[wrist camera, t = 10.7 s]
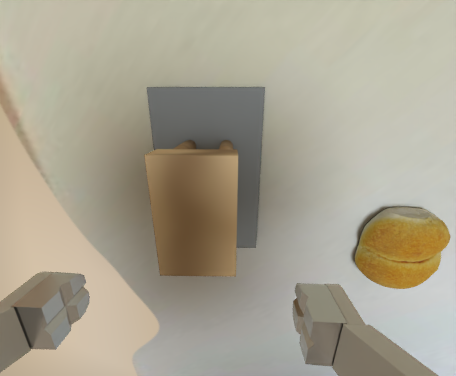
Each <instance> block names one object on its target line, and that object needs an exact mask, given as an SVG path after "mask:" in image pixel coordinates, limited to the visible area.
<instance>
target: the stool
mask: <svg viewBox="0 0 456 376" xmlns="http://www.w3.org/2000/svg"><path fill="white" fill-rule="evenodd" d="M144 157H145V164H146V172H147V179H148V187H149V195H150V202H151V210H152V217H153V225H154V232H155V240H156V248H157V255H158V263H159V270H160V275H165V276H236V243H237V193H238V151H237V149H233V144H232V142H231V141H229V140H224V141H222V142H221V144H220V147H219V149H196V144H195V142H194V141H193V140H186V141H185V142H183V143H182V144H180V145H178V146H177V147H175V148H173V149H156V150H154V151H152V152H150V153H148V154H146V155H144Z"/></svg>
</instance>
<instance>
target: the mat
mask: <svg viewBox="0 0 456 376" xmlns="http://www.w3.org/2000/svg"><path fill="white" fill-rule="evenodd" d="M147 94H148V102H149V111H150V120H151V128H152V137H153V145H154V150H156V149H173V148H175V147H177V146H178V145H180V144H182V143H183V142H185V141H186V140H193V141H194V142H195V144H196V149H219V147H220V144H221V142H222V141H224V140H229V141H231V142H232V144H233V149H237V151H238V193H237V243H236V248H256V238H257V220H258V202H259V184H260V166H261V148H262V130H263V112H264V94H265V87H147Z"/></svg>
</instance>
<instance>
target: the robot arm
mask: <svg viewBox="0 0 456 376" xmlns="http://www.w3.org/2000/svg"><path fill="white" fill-rule="evenodd" d="M85 283H86V280H85V277H84V275H81V274H75V273H61V272H40V273H38V274H36V275H35V276H33V277H32V278H31V279H29V280H28V281H27V282H25V283H24V284H23V285H22V286H21V287H19V288H18V289H17V290H15V291H14V292H12V293H11V294H10V295H8V296H7V297H6V298H4V299H3V300H2V301H1V302H0V372H1V371H3V370H5V369H6V368H7V367H9V366H10V365H11V364H12V363H14V362H15V361H17V360H18V359H20V358H21V357H22V356H24V355H25V354H26V353H28V352H29V351H30V350H31V349H57V347H58V346H59V345H60V344H61V342H62V341H63V340H64V339H65V337H66V336H67V335H68V333H69V332H70V331H71V324H73V323H74V322H76V321H78V320H79V319H80V318H81V317H82V316H83V314H84V313H85V312H86V309H87V307H88V304H89V298H90V296H89V292H88V291H87V290H86V289H85V288H84V285H85ZM295 294H296V297H297V298H296V299H295V300H294V301H293V320H294V325H295V328H296V331H297V332H298V333H299V334H300V335H301V336H300V347H301V350H302V354H303V357H304V361H305V364H312V365H323V366H333V367H332V368H333V369H334V371H335V372H336V373H337V374H338V375H339V376H438V375H437V374H436V373H434V372H433V371H431V370H430V369H429V368H427V367H426V366H425V365H423V364H422V363H421V362H419V361H418V360H417V359H415V358H414V357H413V356H411V355H410V354H409V353H407V352H406V351H404V350H403V349H402V348H400V347H399V346H398V345H396V344H395V343H394V342H392V341H391V340H390V339H388V338H387V337H386V336H384V335H383V334H382V333H380V332H379V331H377V330H376V329H375V328H373V327H372V326H371V325H365V323H364V321H363V320H362V318H361V317H360V315H359V314H358V312H357V310H356V309H355V307H354V306H353V304H352V302H351V301H350V299H349V298H348V296H347V295H346V293H345V291H344V290H343V288H342V287H341V286H340V285H339V284H306V283H297V284H296V287H295Z"/></svg>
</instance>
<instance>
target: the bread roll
mask: <svg viewBox="0 0 456 376" xmlns="http://www.w3.org/2000/svg"><path fill="white" fill-rule="evenodd" d="M449 240H450V234H449V231H448V228H447V226H446V225H445V223H444V222H443V221H442V220H440V219H439V218H438V217H437V216H435V215H434V214H432V213H430V212H429V211H427V210H425V209H419V208H411V207H395V208H388V209H385V210H383V211H382V212H380V213H379V214H377V215H376V216H375V217H374V218H373V219H371V220H370V221H369V222H368V223H367V224H366V225H365V227H364V229H363V231H362V234H361V237H360V241H359V245H358V247H357V250H356V254H355V263H356V265H357V267H358V268H359V270H360V271H361V272H362V273H363V274H364V275H365V276H366V277H367V278H369V279H370V280H371V281H373V282H375V283H377V284H380V285H382V286H385V287H389V288H396V289H405V288H411V287H415V286H417V285H419V284H421V283H423V282H424V281H426V280H427V279H428V278H429V277H430V276H431V275H432V274H433V273H434V272H435V271H437V269H438V267H439V264H440V259H441V251H442V250H443V249H444V248H445V247H446V246H447V245H448V243H449Z"/></svg>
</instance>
